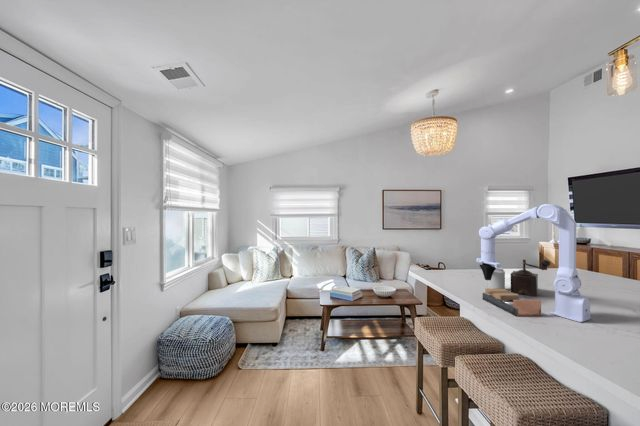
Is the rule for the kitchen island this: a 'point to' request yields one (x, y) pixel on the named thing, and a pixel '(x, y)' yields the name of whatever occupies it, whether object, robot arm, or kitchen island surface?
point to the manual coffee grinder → (527, 279)
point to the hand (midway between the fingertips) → (487, 279)
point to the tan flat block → (502, 294)
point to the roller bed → (516, 305)
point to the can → (497, 279)
